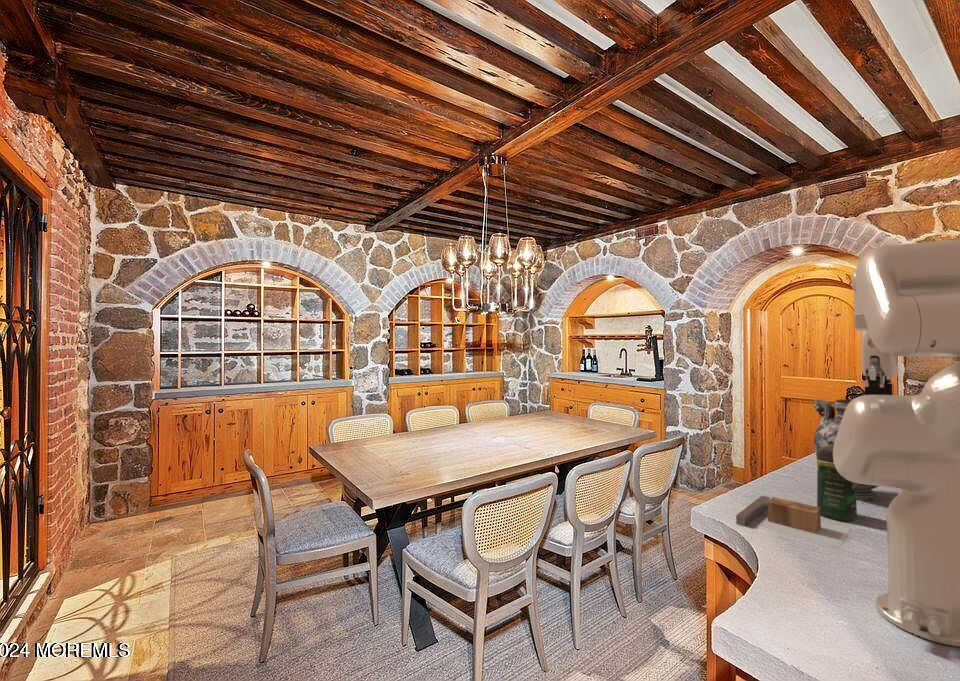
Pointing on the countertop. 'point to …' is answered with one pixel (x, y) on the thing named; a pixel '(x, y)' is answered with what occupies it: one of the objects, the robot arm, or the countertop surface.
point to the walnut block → (794, 514)
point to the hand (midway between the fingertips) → (879, 403)
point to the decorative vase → (828, 435)
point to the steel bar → (752, 511)
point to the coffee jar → (834, 489)
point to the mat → (825, 534)
